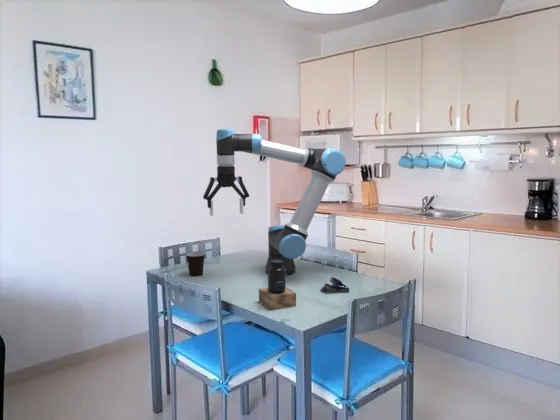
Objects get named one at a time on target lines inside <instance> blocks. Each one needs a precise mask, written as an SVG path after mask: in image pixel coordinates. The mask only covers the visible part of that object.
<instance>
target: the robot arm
mask: <svg viewBox="0 0 560 420" xmlns="http://www.w3.org/2000/svg"><path fill="white" fill-rule="evenodd" d="M215 140H216V142H215V143H216V165H217V167H216V173H217V175H216V177H214V176H211V177H209V183H208V185H207V187H206V190H205V192H204V194H203V196H202V198H203V200H206V201H207V203H206V205H207V208H208V209H209V216H210V217H214V200H212V199H213V198H214V197H215V196H216V195H217V194H218V192H219V190H220V189H221V188H232V189H233V190H234V191H235V192H236V193H237V195H238V196H239V197H240V198H239V214H240V215H241V214H242V215H243V214H244V207H245V206H246V199H247V198H250V194H249V192H248V190H247V188H246V185H245V184H244V181H243V177H242V176H239V175H238V176H235V175H236V172H235V171H236V168H235V166H234V165H235V164H236V163H235V152H242V153H247V154H252V155H256V156H261V157H266V158H270V159H275V160H278V161H284V162H289V163H292V164H297V165H299V166H300V167H301V168H305V169H308V170H311V171H310V173H311V178H310V179H309V182H308V184H307V186H306V187H305V190H304V193H303V195H302V196H301V197H300V201H299V202H298V204H297V207H296V209H295V211H294V213H293V214H292V217H291V218H290V221H289V222H288V223H285V224H282V225H270V226H269V227H268V229H267V230H268V231H267V234H268V237H267V238H268V255H267V256H268V258H267V260H266V264H265V266H264V271H265V273H266V274H267V275H268V269H269V268H270V267H271V261H272V260H282V261H283V268H285V270H286V276H291V275H294V274H295V273H296V271H297V266H296V264H295V261H294V260H295V259H298V258H300V257H301V256H302V255H304V254H305V251H306V248H307V243H306V241H307V239H308V236H309V233H308V229H309V227H310V224H311V222H312V221H313V218H314V217H315V214H316V212H317V210H318V208H319V205H320V203H321V201H322V199H323V197H324V195H325V194H326V191H327V190H328V189H327V188H328V187H329V186H330V184H331V183H333V182H335V180H336V178H337V176H338V175H340V174H341V173H342V172H343V171H344V170H345V168H346V161H347V160H346V157H345V155H344V153H343V152H342V151H341V150H339V149H337V148H332V147H329V148H311V147H308V146H307V147H304V148H302V147H301V148H300V147H297V146H293V145H288V144H284V143H281V142H280V143H279V142H274V141H271V140H268V139H267V140H266V139H262V135H261V134H259V133H235V130H234V129H233V128H219V129H217V131H216V139H215ZM216 182H217V185H216V186H215V187H214V189H213V186H214V184H215V183H216ZM235 182H237V183H238V186H240V189H239V187H238V186H237V184H235ZM212 189H213V190H212ZM211 190H212V191H211ZM241 190H242V191H241Z"/></svg>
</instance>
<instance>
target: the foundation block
mask: <svg viewBox="0 0 560 420" xmlns="http://www.w3.org/2000/svg"><path fill="white" fill-rule="evenodd" d="M258 301H259V302H260V303H261V304H262V305H263V306H265V308H267V309H268V310H270V311H271V310H277V309H282V308H283V309H285V308H290V307H296V306H297V292H296V291H293V290H292V289H290V288H289V287H288V286H286V285H285V291H284V292H283V293H271V292H269V291H268V287H263V288H262V287H261V288H258Z"/></svg>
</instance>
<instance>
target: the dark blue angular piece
mask: <svg viewBox="0 0 560 420" xmlns="http://www.w3.org/2000/svg"><path fill="white" fill-rule="evenodd" d="M329 282H330V283H331V284H329V283H324V285H323V286H322V287H321V288H319V291H320V292H322V291H325V292H326V291H327V292H328V291H329V292H341V291H343V290H345V291H349V290H350V287H347V285H345V284H344V283H343V281H341V280H340V279H338V278H336V277H333V276H331V278H329ZM340 286H341V287H340ZM342 286H344V287H342ZM345 287H346V288H345Z"/></svg>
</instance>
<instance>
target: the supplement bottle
mask: <svg viewBox="0 0 560 420" xmlns="http://www.w3.org/2000/svg"><path fill="white" fill-rule="evenodd" d="M286 276H287V275H286V270H285V268H283V261H282V260H272V261H271V267H270V268H269V269H268V274H267V288H268V291H269V292H271V293H283V292H284V291H285V286H286V278H287V277H286Z"/></svg>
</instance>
